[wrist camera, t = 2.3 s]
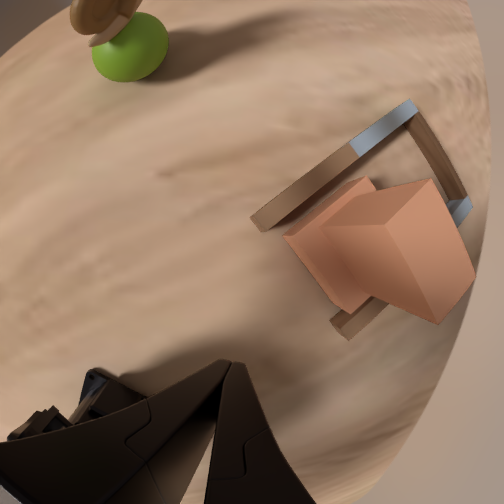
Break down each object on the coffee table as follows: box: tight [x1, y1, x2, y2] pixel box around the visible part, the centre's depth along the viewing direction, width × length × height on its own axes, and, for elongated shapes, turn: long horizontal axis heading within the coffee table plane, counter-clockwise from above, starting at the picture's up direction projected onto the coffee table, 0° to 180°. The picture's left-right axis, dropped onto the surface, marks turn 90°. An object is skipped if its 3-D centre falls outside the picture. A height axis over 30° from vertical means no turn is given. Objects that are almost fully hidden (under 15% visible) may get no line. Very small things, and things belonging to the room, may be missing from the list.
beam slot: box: [250, 99, 473, 341], centre depth 19 cm, size 16×10×2 cm
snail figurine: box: [70, 0, 169, 82], centre depth 11 cm, size 5×6×12 cm
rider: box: [282, 176, 476, 325], centre depth 14 cm, size 6×6×10 cm
